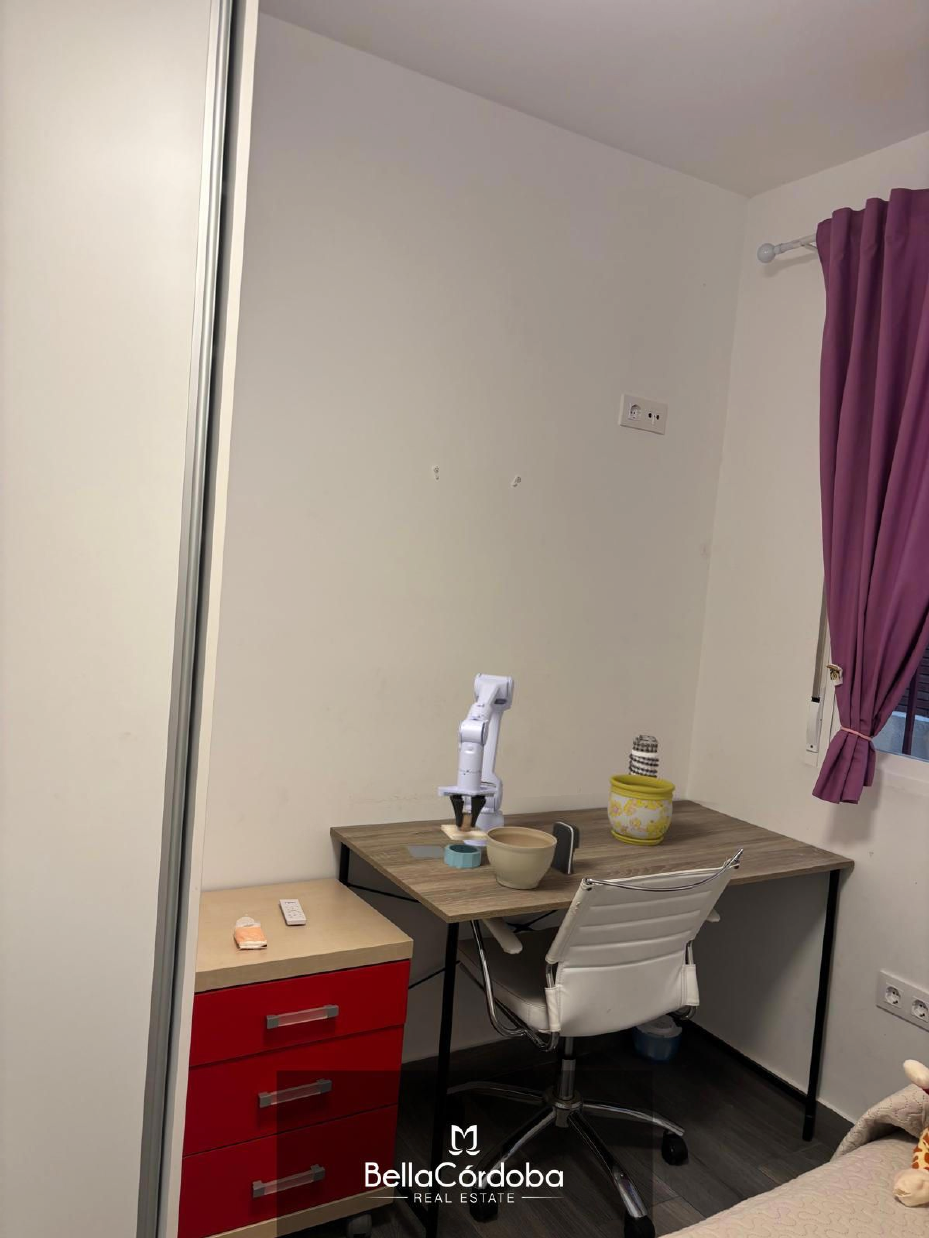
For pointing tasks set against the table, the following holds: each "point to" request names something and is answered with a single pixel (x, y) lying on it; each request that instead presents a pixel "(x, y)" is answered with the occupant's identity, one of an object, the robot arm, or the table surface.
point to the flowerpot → (640, 808)
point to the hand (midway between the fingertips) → (465, 826)
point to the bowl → (462, 856)
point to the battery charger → (565, 846)
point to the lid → (464, 830)
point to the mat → (426, 851)
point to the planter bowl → (519, 855)
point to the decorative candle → (644, 756)
